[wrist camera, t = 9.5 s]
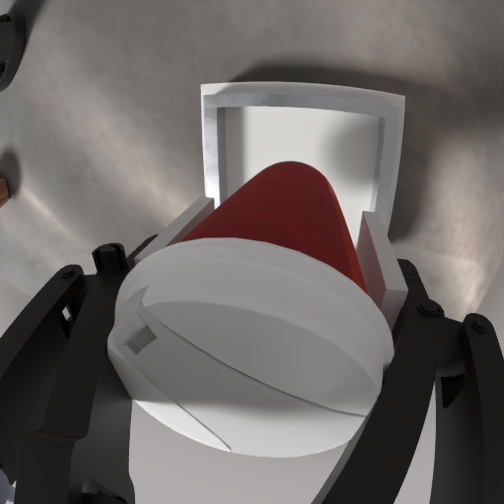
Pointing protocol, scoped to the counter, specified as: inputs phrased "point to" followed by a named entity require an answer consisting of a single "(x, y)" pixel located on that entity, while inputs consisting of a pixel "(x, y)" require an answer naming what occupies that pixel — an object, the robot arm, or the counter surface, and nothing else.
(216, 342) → the paper cup
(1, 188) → the cupcake
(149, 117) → the counter surface
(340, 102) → the square tray
